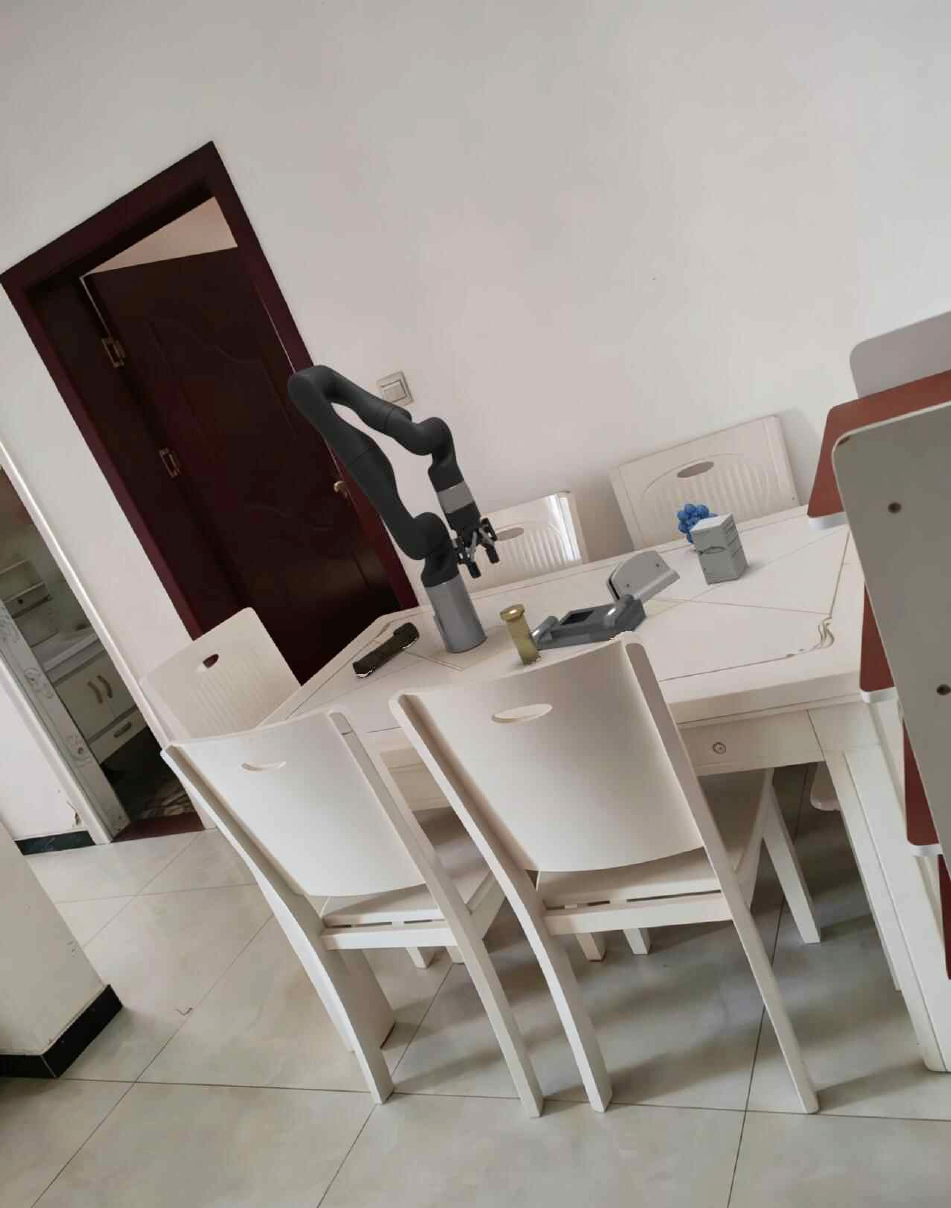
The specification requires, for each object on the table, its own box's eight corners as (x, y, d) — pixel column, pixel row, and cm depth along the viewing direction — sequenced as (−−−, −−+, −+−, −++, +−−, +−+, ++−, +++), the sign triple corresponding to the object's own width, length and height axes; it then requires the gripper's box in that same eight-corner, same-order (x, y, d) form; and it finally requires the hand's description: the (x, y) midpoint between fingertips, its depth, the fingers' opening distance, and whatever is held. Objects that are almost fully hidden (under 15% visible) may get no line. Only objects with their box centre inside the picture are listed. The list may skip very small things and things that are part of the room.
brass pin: (515, 667, 200) (495, 616, 197) (527, 656, 204) (507, 606, 201) (536, 664, 196) (515, 613, 193) (547, 653, 200) (527, 602, 197)
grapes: (678, 559, 227) (662, 513, 224) (692, 548, 231) (676, 502, 228) (721, 553, 219) (705, 505, 216) (734, 542, 223) (718, 495, 220)
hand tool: (368, 678, 234) (359, 658, 232) (356, 678, 237) (347, 659, 236) (428, 636, 248) (420, 617, 247) (416, 637, 252) (408, 619, 250)
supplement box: (706, 585, 202) (687, 531, 199) (718, 571, 208) (700, 518, 205) (738, 580, 198) (720, 524, 195) (749, 566, 203) (732, 511, 200)
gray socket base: (522, 653, 206) (513, 631, 205) (545, 631, 215) (536, 609, 213) (626, 638, 191) (618, 613, 189) (647, 614, 199) (638, 591, 198)
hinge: (634, 609, 205) (608, 571, 206) (622, 616, 209) (597, 578, 210) (681, 576, 214) (657, 539, 214) (668, 583, 218) (645, 547, 218)
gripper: (461, 498, 219) (488, 561, 223) (428, 520, 208) (458, 585, 212) (486, 490, 215) (514, 554, 218) (454, 511, 204) (484, 579, 207)
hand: (486, 570), depth 215 cm, fingers open, 8 cm apart
